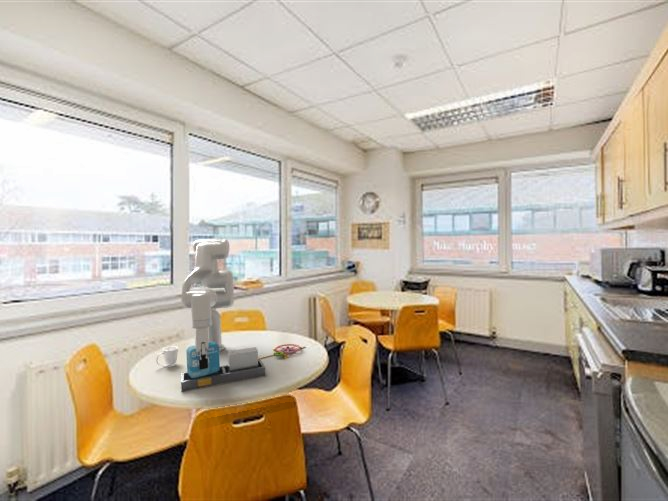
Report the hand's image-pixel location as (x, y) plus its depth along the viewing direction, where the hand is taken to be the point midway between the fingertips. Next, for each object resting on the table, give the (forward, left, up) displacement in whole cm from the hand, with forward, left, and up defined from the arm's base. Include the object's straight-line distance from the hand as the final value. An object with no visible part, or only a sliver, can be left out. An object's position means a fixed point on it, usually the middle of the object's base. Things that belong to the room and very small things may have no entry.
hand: (203, 365), depth 141 cm
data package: (0, 0, -4) cm, 4 cm away
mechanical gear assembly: (-19, +38, -8) cm, 43 cm away
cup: (-27, -14, -7) cm, 32 cm away
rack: (0, +8, -7) cm, 11 cm away
